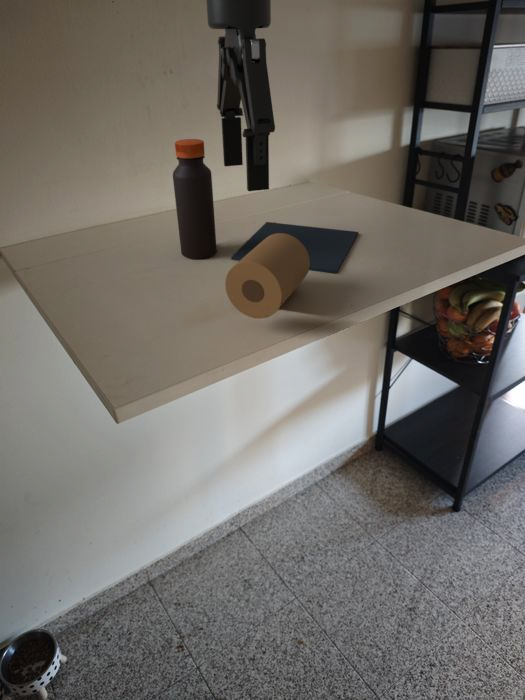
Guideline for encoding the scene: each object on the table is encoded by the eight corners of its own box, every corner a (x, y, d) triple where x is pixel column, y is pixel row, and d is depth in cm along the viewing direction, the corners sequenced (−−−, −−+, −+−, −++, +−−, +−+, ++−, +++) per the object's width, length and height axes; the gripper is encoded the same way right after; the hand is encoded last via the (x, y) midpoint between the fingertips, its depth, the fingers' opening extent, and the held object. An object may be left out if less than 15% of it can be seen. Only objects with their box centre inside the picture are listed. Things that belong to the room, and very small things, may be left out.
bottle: (191, 263, 91) (179, 147, 80) (175, 251, 96) (162, 140, 85) (223, 254, 94) (216, 142, 83) (206, 243, 99) (198, 136, 88)
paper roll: (258, 280, 85) (258, 229, 80) (308, 289, 82) (311, 237, 77) (226, 312, 76) (223, 257, 71) (281, 324, 73) (282, 267, 68)
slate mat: (358, 234, 102) (358, 231, 102) (336, 273, 87) (337, 271, 86) (266, 224, 108) (266, 221, 108) (231, 259, 92) (230, 257, 92)
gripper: (188, -7, 67) (201, 158, 78) (231, -19, 47) (240, 205, 58) (242, -7, 68) (247, 155, 80) (306, -19, 48) (300, 199, 60)
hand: (244, 176), depth 69 cm, fingers open, 13 cm apart
